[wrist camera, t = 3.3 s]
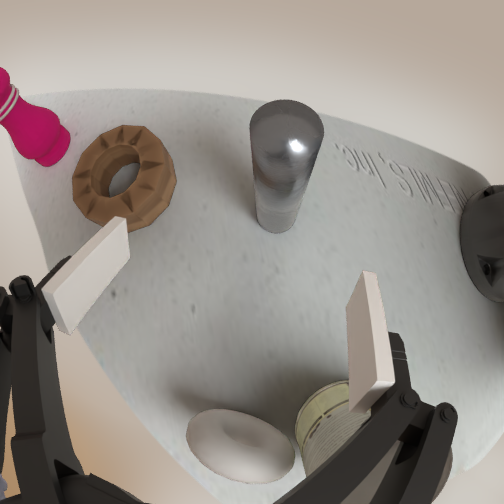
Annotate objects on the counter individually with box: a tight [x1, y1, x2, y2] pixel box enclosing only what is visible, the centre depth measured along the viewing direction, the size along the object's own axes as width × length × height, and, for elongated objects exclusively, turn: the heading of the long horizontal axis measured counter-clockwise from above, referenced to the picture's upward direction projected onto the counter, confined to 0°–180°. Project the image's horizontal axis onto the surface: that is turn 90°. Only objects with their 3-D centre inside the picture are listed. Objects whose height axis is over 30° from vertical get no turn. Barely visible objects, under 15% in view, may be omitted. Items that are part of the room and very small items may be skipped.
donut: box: [186, 409, 295, 484], centre depth 22 cm, size 10×3×10 cm, turn 68°
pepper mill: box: [0, 67, 70, 167], centre depth 24 cm, size 7×7×20 cm
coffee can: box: [295, 380, 453, 504], centre depth 19 cm, size 10×10×14 cm
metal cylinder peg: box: [250, 100, 324, 233], centre depth 23 cm, size 4×4×16 cm
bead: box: [72, 125, 177, 233], centre depth 30 cm, size 11×11×4 cm
